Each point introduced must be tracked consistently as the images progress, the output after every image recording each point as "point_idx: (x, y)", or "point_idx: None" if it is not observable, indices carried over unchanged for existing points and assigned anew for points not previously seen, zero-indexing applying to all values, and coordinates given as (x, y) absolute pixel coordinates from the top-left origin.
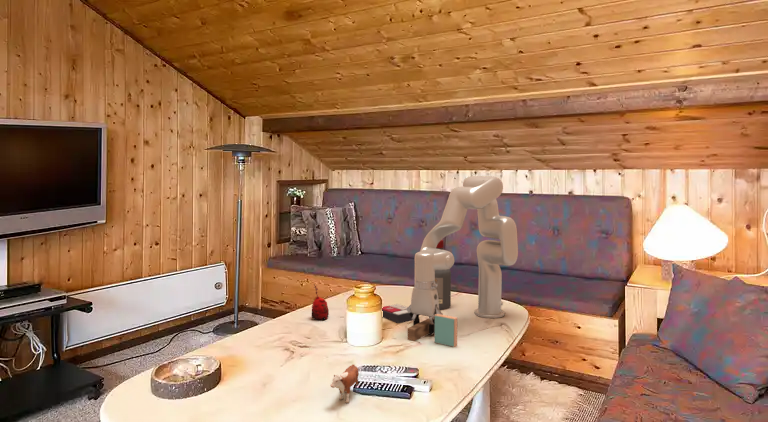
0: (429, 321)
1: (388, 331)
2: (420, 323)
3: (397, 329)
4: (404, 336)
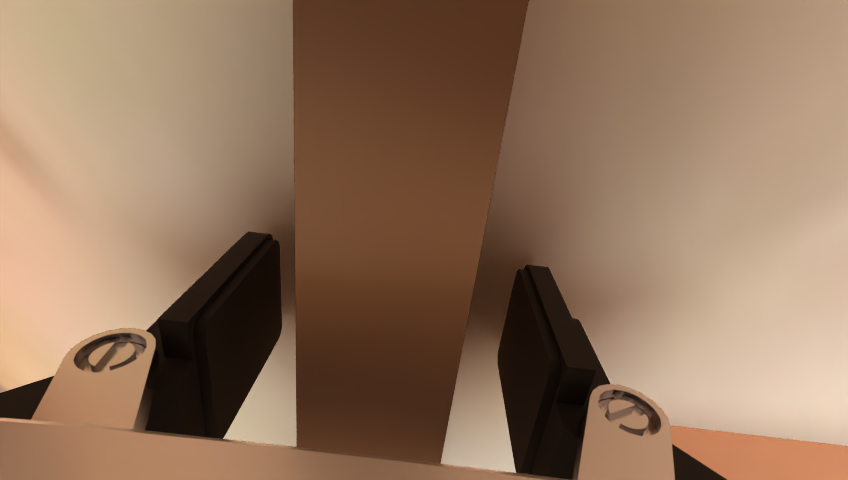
0: (428, 289)
1: (11, 389)
2: (338, 451)
3: (21, 291)
4: (257, 442)
